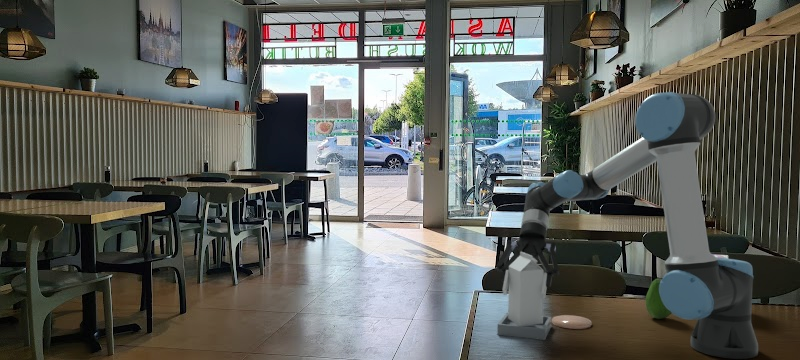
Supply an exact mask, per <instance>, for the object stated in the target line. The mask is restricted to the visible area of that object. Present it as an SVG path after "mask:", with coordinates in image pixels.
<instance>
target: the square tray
mask: <svg viewBox="0 0 800 360" xmlns="http://www.w3.org/2000/svg"><path fill="white" fill-rule="evenodd" d="M552 318H553V317H552V316H548V315H547V316H546V315H543V324H535V325H523V326H519V325H517V324H516V323H514V322H513V321H511V320H509V319H508V312H506V313H505V315H503V317H502V318H501V319H500V321H498V323H497V332H496V333H497V335H499V336H508V337H516V338H524V339H525V338H526V339H533V340H534V339H535V340H543V341H545V340H546V339H547V337H548V335H549V332H550V330H551V328H552Z"/></svg>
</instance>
